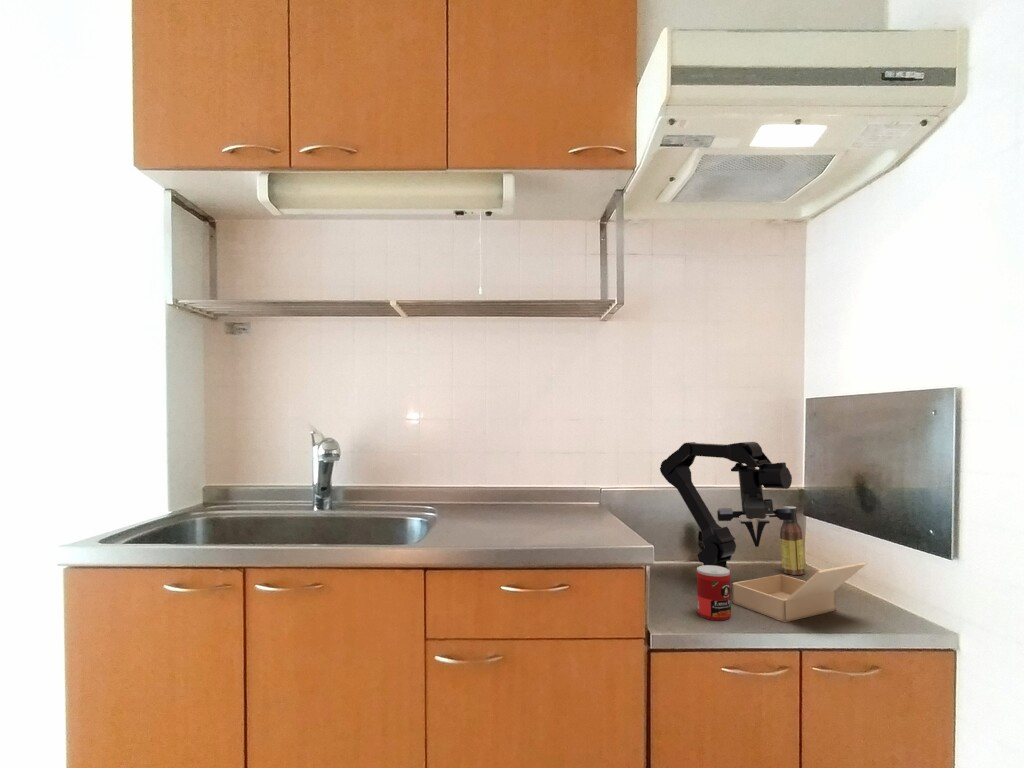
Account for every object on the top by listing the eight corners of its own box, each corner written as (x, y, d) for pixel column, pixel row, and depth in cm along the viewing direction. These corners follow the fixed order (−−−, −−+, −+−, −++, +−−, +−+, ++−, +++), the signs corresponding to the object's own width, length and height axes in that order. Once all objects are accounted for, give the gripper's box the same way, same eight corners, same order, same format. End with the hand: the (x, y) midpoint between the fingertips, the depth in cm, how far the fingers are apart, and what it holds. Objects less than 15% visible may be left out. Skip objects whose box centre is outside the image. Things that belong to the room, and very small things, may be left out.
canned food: (715, 623, 140) (714, 575, 140) (690, 613, 147) (689, 567, 147) (738, 617, 143) (737, 571, 144) (713, 607, 150) (712, 563, 151)
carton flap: (818, 570, 133) (819, 572, 133) (864, 562, 140) (866, 564, 140) (786, 598, 140) (788, 600, 140) (832, 589, 147) (834, 591, 147)
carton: (732, 602, 154) (731, 583, 154) (781, 592, 162) (781, 574, 162) (784, 622, 140) (783, 600, 140) (836, 610, 147) (835, 589, 148)
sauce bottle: (800, 570, 184) (798, 505, 185) (808, 576, 178) (806, 508, 179) (778, 570, 185) (776, 505, 185) (785, 575, 178) (783, 508, 179)
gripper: (716, 491, 158) (721, 552, 157) (793, 489, 153) (799, 551, 151) (714, 488, 169) (719, 544, 167) (786, 486, 164) (792, 544, 162)
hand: (756, 546), depth 162 cm, fingers closed
